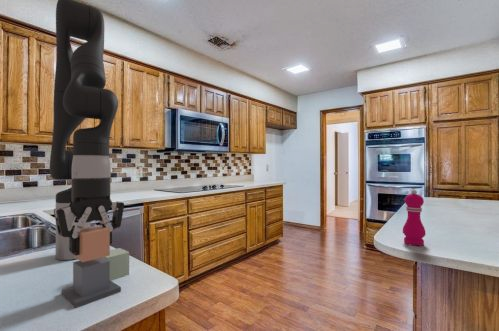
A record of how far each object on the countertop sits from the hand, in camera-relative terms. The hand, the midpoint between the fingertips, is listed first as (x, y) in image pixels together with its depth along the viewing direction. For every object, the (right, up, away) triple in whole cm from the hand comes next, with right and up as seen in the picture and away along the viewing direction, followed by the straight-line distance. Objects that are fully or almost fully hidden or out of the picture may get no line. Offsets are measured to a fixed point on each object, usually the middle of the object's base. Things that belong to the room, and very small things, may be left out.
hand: (91, 250), depth 60 cm
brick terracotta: (0, -1, 0) cm, 1 cm away
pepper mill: (+96, -10, +39) cm, 104 cm away
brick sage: (0, -10, +10) cm, 14 cm away
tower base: (0, -10, 0) cm, 10 cm away
